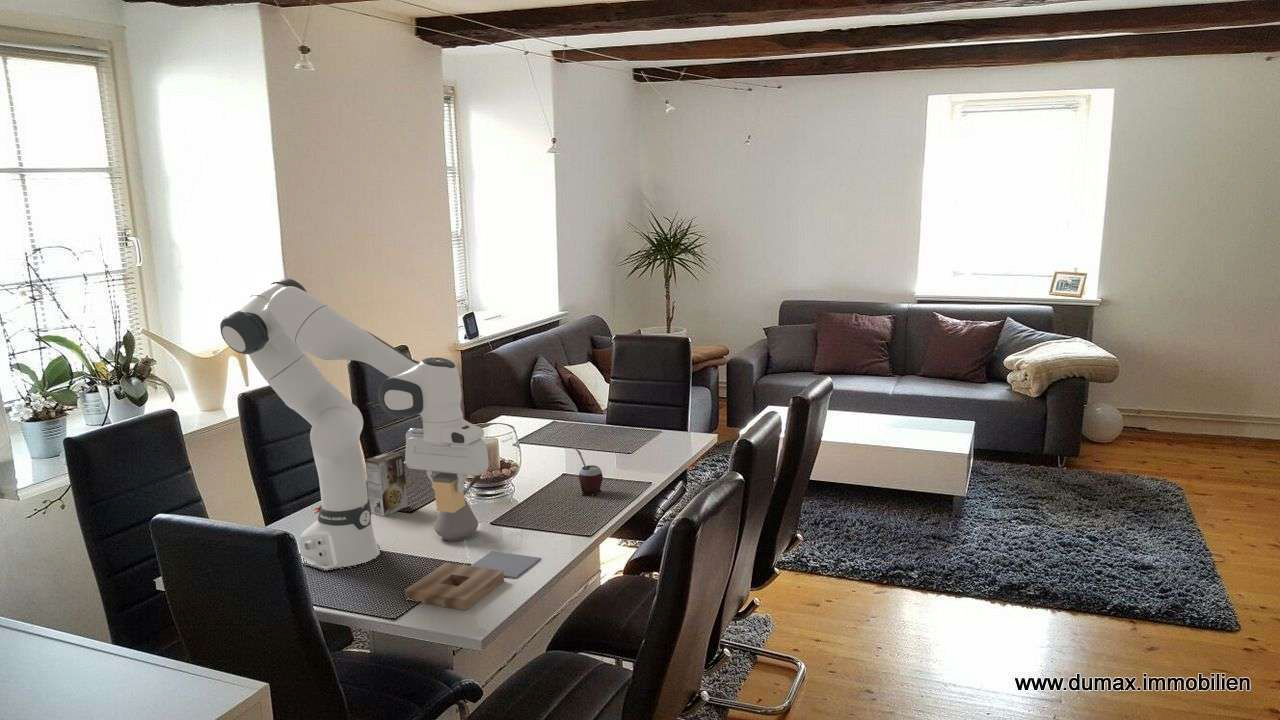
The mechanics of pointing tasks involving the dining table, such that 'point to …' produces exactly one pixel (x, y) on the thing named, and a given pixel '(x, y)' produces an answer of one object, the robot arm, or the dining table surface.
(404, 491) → the coffee box
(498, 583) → the wooden socket board
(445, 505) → the plug
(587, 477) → the mate gourd
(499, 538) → the dining table surface
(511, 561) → the slate mat
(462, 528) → the coffee pot
